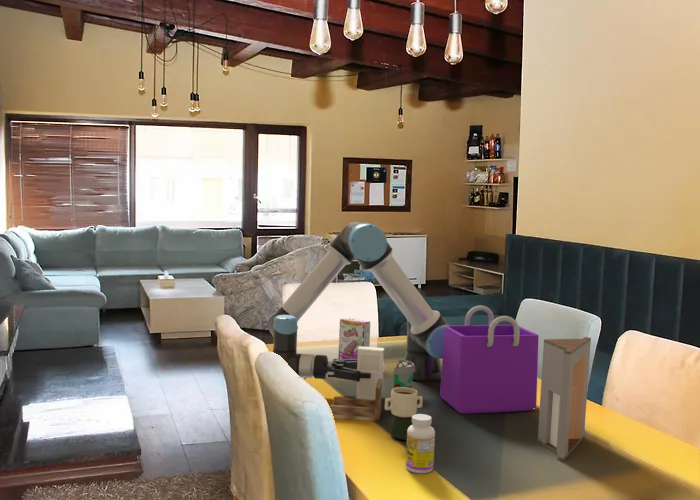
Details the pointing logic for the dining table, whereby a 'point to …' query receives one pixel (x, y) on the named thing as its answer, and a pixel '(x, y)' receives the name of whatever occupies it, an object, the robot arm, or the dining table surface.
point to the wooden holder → (358, 407)
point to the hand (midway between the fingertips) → (383, 371)
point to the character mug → (403, 409)
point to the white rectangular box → (374, 362)
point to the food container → (403, 373)
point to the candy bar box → (353, 337)
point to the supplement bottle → (420, 444)
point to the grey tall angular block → (563, 394)
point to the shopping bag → (489, 366)
